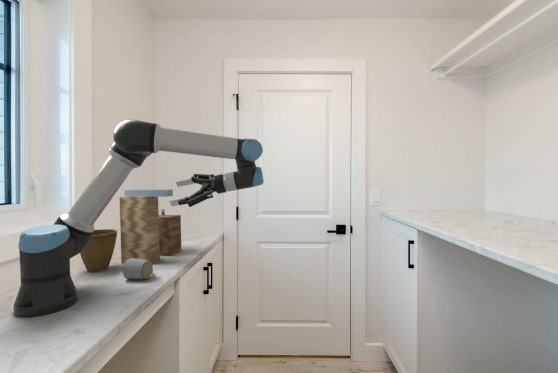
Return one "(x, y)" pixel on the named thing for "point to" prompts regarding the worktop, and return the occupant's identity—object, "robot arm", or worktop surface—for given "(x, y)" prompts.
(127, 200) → the stand
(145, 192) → the blue-grey block
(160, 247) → the wooden block with pegs
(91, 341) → the worktop surface
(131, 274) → the grey short cylinder
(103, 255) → the plant pot
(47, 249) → the robot arm
